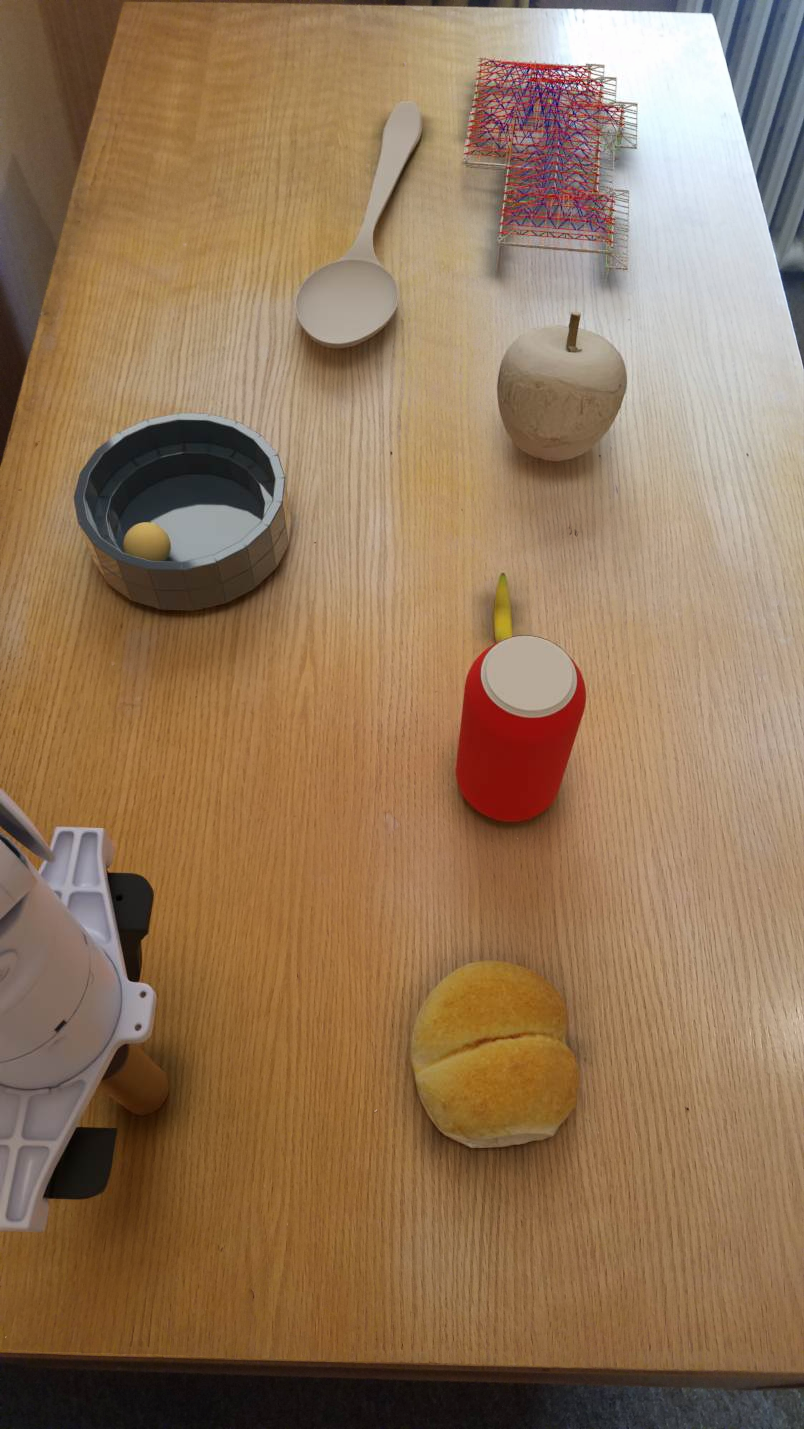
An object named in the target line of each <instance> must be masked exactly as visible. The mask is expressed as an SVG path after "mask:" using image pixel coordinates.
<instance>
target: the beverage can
mask: <svg viewBox="0 0 804 1429" xmlns="http://www.w3.org/2000/svg"><path fill="white" fill-rule="evenodd" d="M465 678H466V679H465V683H464V691H463V699H462V709H461V717H460V728H459V737H458V745H457V753H456V761H455V762H456V764H455V778H456V782H457V786H458V788H459V790H460V793H461V795H462V796H463V797H464V799H465V801H466V802H467V803H468V804H469V805H470V806H471V807H472V808H474V809H475V810H476V811H477V812H479V813H480V814H482V815H484V816H486V817H488V818H491V819H494V820H497V821H501V822H508V823H509V822H510V823H511V822H514V823H515V822H523V821H527V820H530V819H533V818H535V817H538V816H539V815H540V814H542V813H543V812H545V811H546V810H547V809H548V808H549V807H550V806H551V805H552V804H553V802H555V799H556V798H557V796H558V795H559V791H560V788H561V785H562V782H563V779H564V775H565V773H566V770H567V766H568V764H569V760H570V757H571V753H572V750H573V747H574V744H575V740H576V738H577V736H578V735H577V734H578V731H579V729H580V725H581V722H582V719H583V716H584V712H585V709H586V703H587V690H586V689H587V688H586V684H585V679H584V677H583V674H582V672H581V670H580V668H579V666H578V665H577V663H576V662H575V661H574V660H573V658H572V657H571V655H569V654H568V653H567V652H566V651H565V650H564V649H563V648H562V647H561V646H559V645H558V644H557V643H555V642H553V641H551V640H549V639H547V638H544V637H542V636H537V635H529V634H521V635H513V637H510V638H507V639H504V640H502V641H500V642H497V643H496V642H495V643H493V644H492V645H489V646H488V647H487V648H485V649H484V650H483V651H482V652H481V653H480V654H479V655H478V656H477V657H476V659H475V660H474V661H473V663H472V665H471V666H470V668H469V670H468V672H467V675H466V677H465Z"/></svg>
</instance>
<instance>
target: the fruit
mask: <svg viewBox="0 0 804 1429" xmlns="http://www.w3.org/2000/svg"><path fill="white" fill-rule="evenodd" d="M511 607H512V604H511V597H510V590H509V584H508V578H507V575H506V573H505V572H501V573H500V575H499V578H498V581H497V585H496V591H495V598H494V606H493V629H494V639H495V643H497V642H500V641H502V640H504V639H507V638H510V637H513V636H514V635H513V634H514V633H513V620H512V619H513V617H512V608H511Z"/></svg>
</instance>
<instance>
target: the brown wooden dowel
mask: <svg viewBox="0 0 804 1429" xmlns="http://www.w3.org/2000/svg"><path fill="white" fill-rule="evenodd" d="M97 1089H99V1090H100V1091H102V1092H103V1093H104V1094H106V1095H107V1096H109V1097H110V1098H111V1099H113V1100H114V1101H116V1102H117V1103H118V1104H120V1105H121V1106H123V1107H124V1108H125V1109H126V1110H128V1111H129V1112H130V1113H132V1114H134V1115H139V1116H146V1115H150V1114H153V1113H155V1112H156V1111H157V1110H159V1109H160V1108H161V1107H162V1106H163V1105H164V1104H165V1102H166V1100H167V1098H168V1096H169V1092H170V1082H169V1079H168V1076H167V1074H166V1073H165V1071H163V1070H162V1069H161V1068H160V1067H159V1066H158V1065H157V1063H155V1062H154V1061H153V1060H152V1059H151V1058H150V1057H149V1055H147V1053H146V1052H144V1051H143V1049H141V1047H139V1045H138V1044H132V1043H128V1044H124V1045H122V1046H121V1047H119V1048H118V1049H117V1051H116V1052H115V1054H114V1056H113V1058H112V1060H111V1062H110V1064H109V1066H108V1068H107V1070H106V1072H105V1074H104V1075H103V1077H102V1079H101V1081H100V1083H99V1085H98V1087H97Z"/></svg>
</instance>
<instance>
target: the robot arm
mask: <svg viewBox="0 0 804 1429" xmlns="http://www.w3.org/2000/svg"><path fill="white" fill-rule="evenodd" d="M0 828H1V829H2V830H4V831H5V832H6V833H7V834H8V835H10V836H11V837H12V838H13V839H14V840H16V841H17V842H18V843H20V844H21V845H22V846H23V847H25V848H26V849H27V850H28V851H30V852H31V853H32V854H34V855H35V856H37V857H38V858H40V859H41V860H43V861H42V862H41V865H40V867H39V869H37V868H36V867H35V866H34V865H33V863H32V862H31V861H30V860H29V859H28V857H27V856H26V855H25V854H24V852H23V851H22V850H21V848H19V846H17V844H16V843H15V842H14V841H13V840H12V839H10V838H9V837H8V836H6V835H5V834H3V833H2V832H1V831H0V1232H14V1233H15V1232H19V1233H44V1232H45V1231H46V1228H47V1224H48V1218H49V1211H50V1201H49V1200H75V1201H77V1200H78V1201H81V1200H87V1199H92V1198H94V1197H97V1196H99V1195H101V1194H103V1193H104V1192H105V1191H106V1188H107V1186H108V1184H109V1181H110V1178H111V1173H112V1167H113V1160H114V1155H115V1147H116V1141H117V1136H118V1127H95V1126H89V1127H88V1126H78V1125H79V1123H80V1121H81V1119H82V1118H83V1116H84V1114H85V1112H86V1110H87V1108H88V1106H89V1104H90V1102H91V1100H92V1098H93V1097H94V1094H95V1093H96V1091H97V1089H98V1085H99V1083H100V1081H101V1079H102V1077H103V1075H104V1074H105V1072H106V1070H107V1068H108V1066H109V1064H110V1062H111V1060H112V1058H113V1056H114V1054H115V1052H116V1051H117V1049H118V1048H119V1047H121V1046H122V1045H124V1044H128V1043H132V1044H136V1045H138V1044H142V1043H145V1042H146V1041H147V1040H148V1039H150V1037H151V1035H152V1033H153V1030H154V1023H155V1016H156V1010H157V1002H158V998H157V993H156V992H155V990H154V988H152V987H151V985H150V984H147V983H145V982H140V980H141V974H142V967H143V946H142V941H143V940H144V939H145V938H146V936H147V935H148V934H149V932H150V925H151V919H152V912H153V907H154V906H153V905H154V900H155V891H154V888H153V887H152V885H151V884H150V882H149V880H148V879H147V878H145V877H144V876H143V875H141V874H139V873H134V872H111V871H108V869H109V868H111V866H112V864H113V859H114V855H115V845H114V842H113V841H112V839H111V838H110V836H109V835H108V833H107V831H106V829H105V828H103V827H85V826H84V827H83V826H81V827H80V826H56V827H55V828H54V831H53V835H52V838H51V842H50V845H48V844H47V842H46V841H45V839H44V837H43V836H42V835H41V833H40V831H39V830H38V829H37V827H36V825H35V824H34V823H33V822H32V820H31V819H30V817H29V816H28V815H27V814H26V813H25V812H24V811H23V809H22V808H20V807H19V806H18V804H17V803H16V802H15V801H14V800H13V798H11V797H10V796H9V795H8V794H7V793H6V791H4V790H3V789H2V788H1V787H0Z"/></svg>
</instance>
